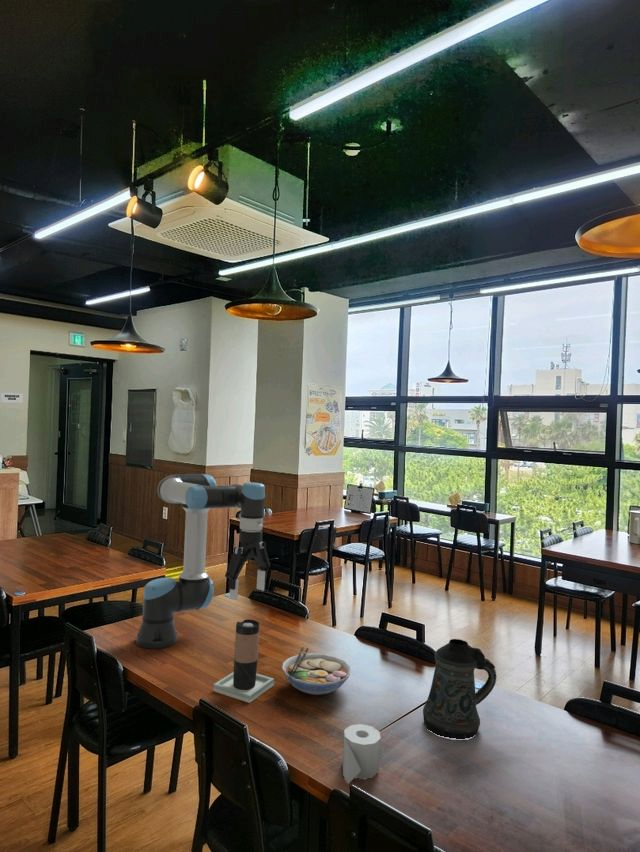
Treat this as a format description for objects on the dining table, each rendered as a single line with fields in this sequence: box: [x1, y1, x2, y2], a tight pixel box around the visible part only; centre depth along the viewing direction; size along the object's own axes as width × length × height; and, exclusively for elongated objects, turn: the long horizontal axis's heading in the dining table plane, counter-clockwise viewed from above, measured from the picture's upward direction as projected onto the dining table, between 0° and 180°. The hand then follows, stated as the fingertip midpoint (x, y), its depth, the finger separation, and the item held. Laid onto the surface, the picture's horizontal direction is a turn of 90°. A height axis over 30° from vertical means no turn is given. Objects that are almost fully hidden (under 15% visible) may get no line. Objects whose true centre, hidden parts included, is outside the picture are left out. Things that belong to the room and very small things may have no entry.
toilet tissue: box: [342, 723, 382, 785], centre depth 137 cm, size 9×13×9 cm
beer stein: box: [422, 638, 497, 739], centre depth 162 cm, size 16×19×25 cm
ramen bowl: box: [281, 646, 352, 696], centre depth 180 cm, size 25×23×8 cm
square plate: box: [213, 671, 275, 704], centre depth 178 cm, size 14×14×2 cm
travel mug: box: [233, 619, 260, 690], centre depth 179 cm, size 8×8×20 cm
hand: (247, 594), depth 181 cm, fingers open, 13 cm apart
